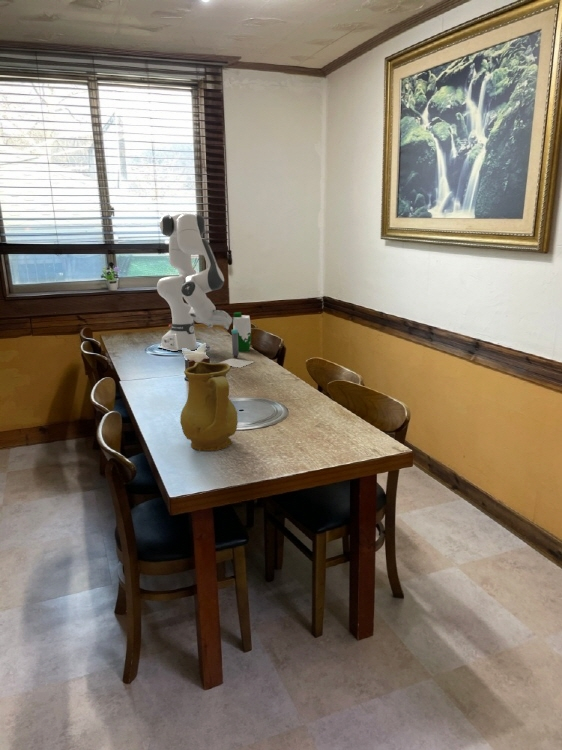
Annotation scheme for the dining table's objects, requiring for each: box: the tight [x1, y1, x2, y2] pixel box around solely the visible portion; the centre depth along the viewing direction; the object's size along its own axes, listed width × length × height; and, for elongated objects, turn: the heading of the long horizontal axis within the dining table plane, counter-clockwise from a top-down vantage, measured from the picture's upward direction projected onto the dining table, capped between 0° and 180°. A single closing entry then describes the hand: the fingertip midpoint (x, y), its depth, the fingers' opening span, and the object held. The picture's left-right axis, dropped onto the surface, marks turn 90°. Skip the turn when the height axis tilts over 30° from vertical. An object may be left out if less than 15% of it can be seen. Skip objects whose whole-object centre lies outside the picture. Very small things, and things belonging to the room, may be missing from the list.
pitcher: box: [179, 361, 238, 452], centre depth 158 cm, size 17×19×25 cm
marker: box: [231, 329, 239, 359], centre depth 265 cm, size 3×3×14 cm
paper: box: [219, 358, 255, 369], centre depth 255 cm, size 14×12×1 cm
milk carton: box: [232, 311, 252, 352], centre depth 280 cm, size 9×9×20 cm
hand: (219, 327), depth 252 cm, fingers open, 8 cm apart
